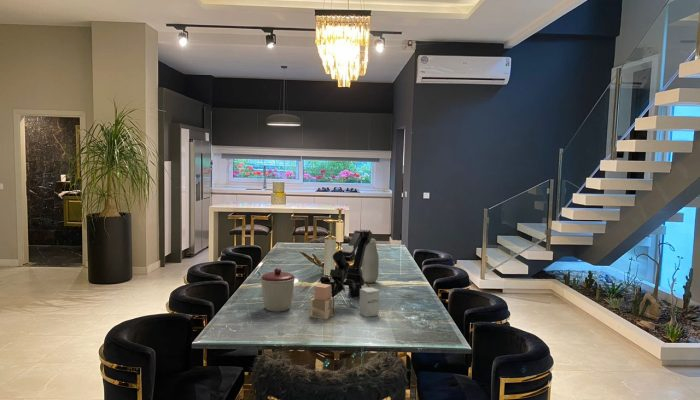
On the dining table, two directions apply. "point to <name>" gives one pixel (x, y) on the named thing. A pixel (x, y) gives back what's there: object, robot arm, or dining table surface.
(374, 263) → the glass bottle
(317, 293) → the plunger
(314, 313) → the sleeve
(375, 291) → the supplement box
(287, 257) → the dining table surface
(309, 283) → the dining table surface
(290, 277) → the canister
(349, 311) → the dining table surface
